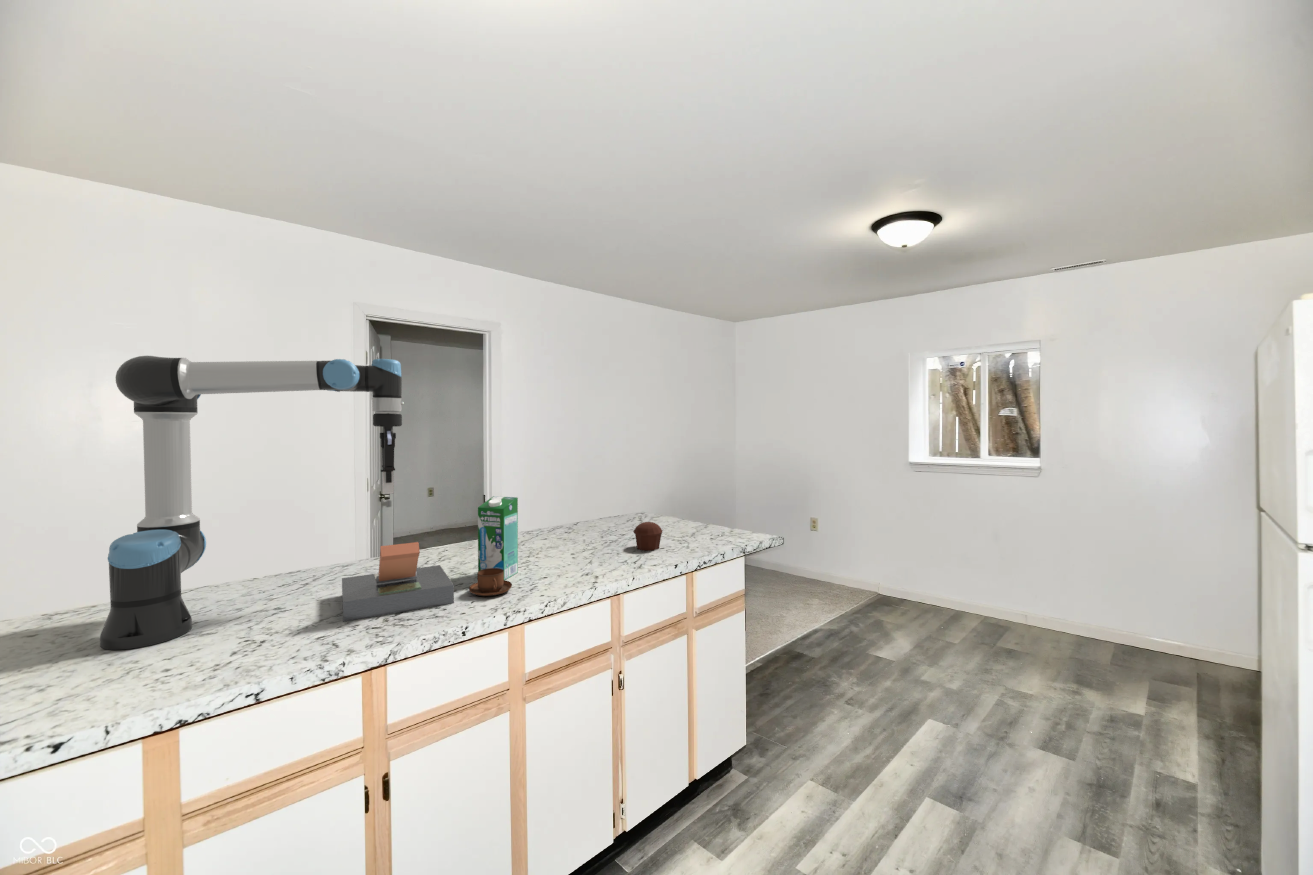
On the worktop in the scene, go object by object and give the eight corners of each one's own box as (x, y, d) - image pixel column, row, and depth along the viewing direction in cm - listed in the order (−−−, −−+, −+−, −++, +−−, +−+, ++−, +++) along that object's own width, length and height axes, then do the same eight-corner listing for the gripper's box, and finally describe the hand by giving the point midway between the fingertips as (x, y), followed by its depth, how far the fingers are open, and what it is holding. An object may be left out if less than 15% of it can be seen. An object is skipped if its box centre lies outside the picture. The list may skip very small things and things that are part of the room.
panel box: (342, 595, 148) (341, 577, 148) (439, 580, 162) (439, 564, 161) (343, 621, 129) (343, 600, 129) (453, 602, 143) (453, 583, 143)
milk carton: (477, 578, 164) (477, 499, 163) (493, 570, 173) (493, 495, 172) (503, 580, 162) (503, 501, 161) (518, 572, 171) (517, 496, 170)
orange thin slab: (376, 576, 144) (378, 546, 135) (415, 571, 149) (420, 541, 140) (376, 587, 142) (379, 556, 133) (416, 581, 148) (421, 551, 138)
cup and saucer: (520, 591, 153) (520, 570, 153) (484, 602, 144) (483, 580, 144) (496, 583, 161) (496, 563, 160) (460, 593, 151) (460, 572, 151)
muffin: (650, 542, 213) (650, 518, 213) (668, 548, 205) (668, 523, 204) (627, 547, 205) (627, 522, 205) (644, 553, 197) (645, 526, 197)
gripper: (404, 413, 148) (405, 495, 149) (399, 413, 159) (400, 489, 160) (374, 412, 144) (375, 497, 145) (371, 412, 155) (372, 491, 156)
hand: (388, 493), depth 152 cm, fingers closed
